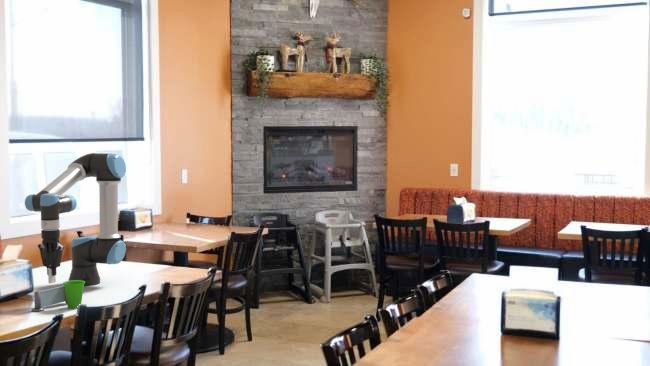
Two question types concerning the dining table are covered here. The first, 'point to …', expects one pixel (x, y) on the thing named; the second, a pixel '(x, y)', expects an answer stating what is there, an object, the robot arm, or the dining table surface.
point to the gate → (49, 297)
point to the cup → (74, 292)
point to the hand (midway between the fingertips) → (52, 282)
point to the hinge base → (37, 310)
